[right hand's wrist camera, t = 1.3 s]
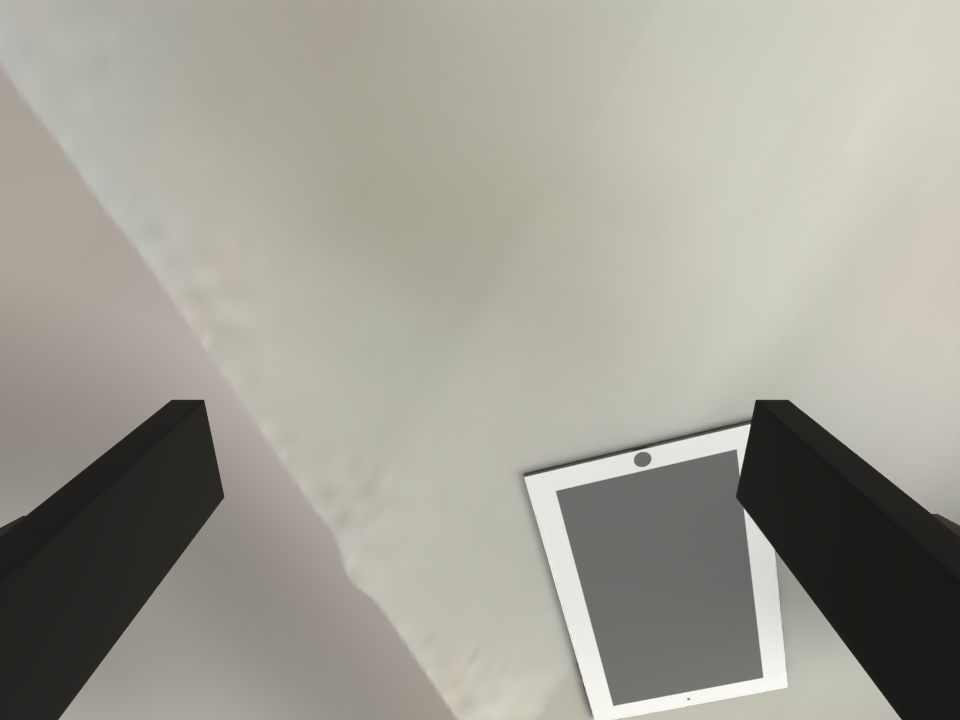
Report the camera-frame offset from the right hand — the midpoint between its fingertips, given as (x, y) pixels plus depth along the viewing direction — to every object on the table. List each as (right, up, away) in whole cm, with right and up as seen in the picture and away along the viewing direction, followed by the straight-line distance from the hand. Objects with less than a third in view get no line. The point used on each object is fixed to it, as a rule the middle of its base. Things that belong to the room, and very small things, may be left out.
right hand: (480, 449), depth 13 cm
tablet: (+18, -19, +38) cm, 46 cm away
